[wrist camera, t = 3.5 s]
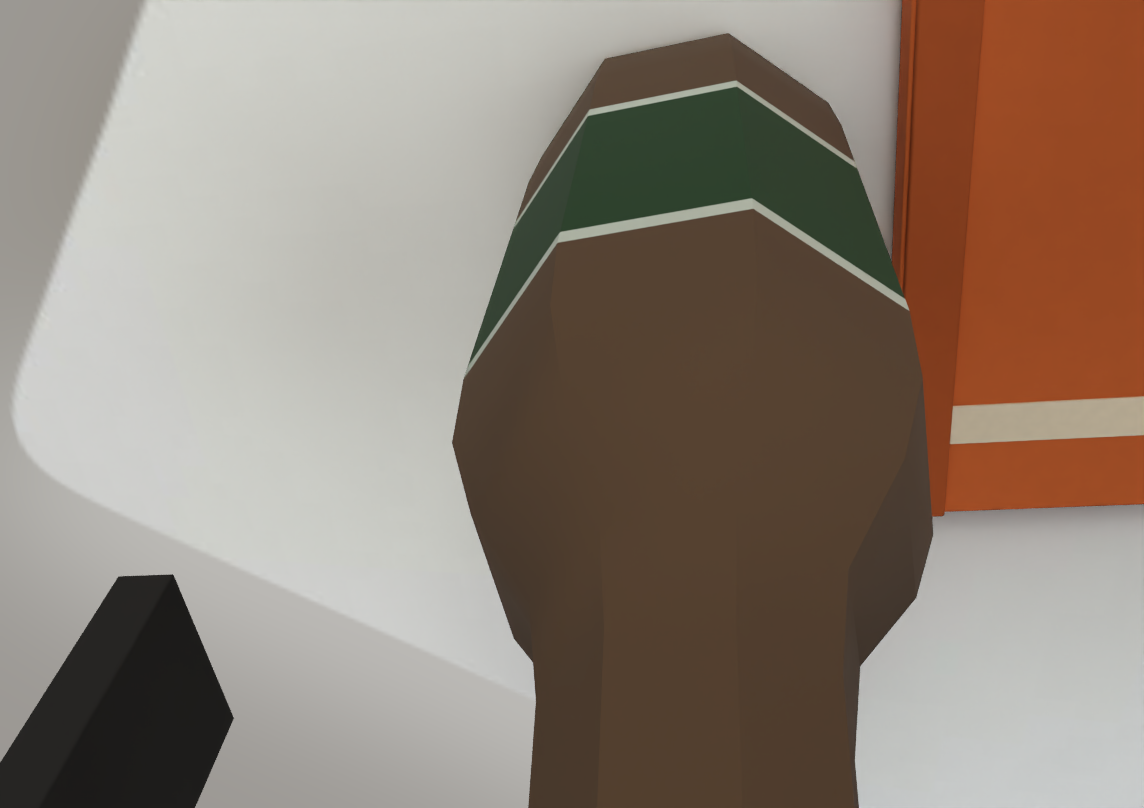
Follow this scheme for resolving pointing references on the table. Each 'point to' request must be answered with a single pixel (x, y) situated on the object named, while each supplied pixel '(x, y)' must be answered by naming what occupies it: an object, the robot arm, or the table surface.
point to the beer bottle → (697, 440)
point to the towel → (1025, 247)
